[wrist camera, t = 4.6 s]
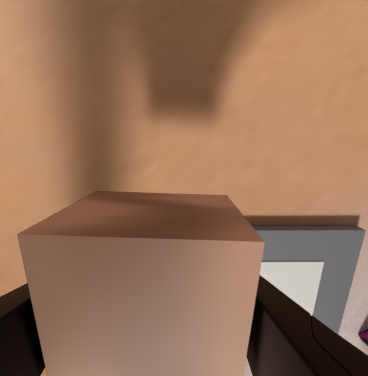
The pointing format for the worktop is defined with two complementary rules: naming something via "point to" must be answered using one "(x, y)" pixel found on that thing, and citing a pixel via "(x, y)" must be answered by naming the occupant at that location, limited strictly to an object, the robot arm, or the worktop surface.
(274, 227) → the board
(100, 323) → the terracotta block
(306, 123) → the worktop surface
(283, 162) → the worktop surface
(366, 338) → the candy bar box
